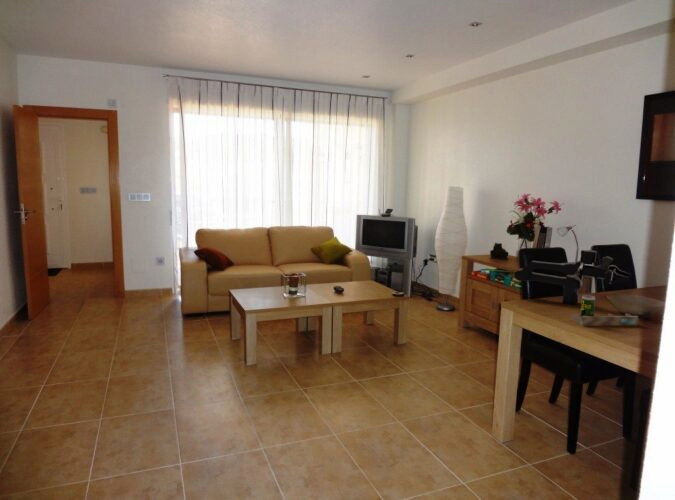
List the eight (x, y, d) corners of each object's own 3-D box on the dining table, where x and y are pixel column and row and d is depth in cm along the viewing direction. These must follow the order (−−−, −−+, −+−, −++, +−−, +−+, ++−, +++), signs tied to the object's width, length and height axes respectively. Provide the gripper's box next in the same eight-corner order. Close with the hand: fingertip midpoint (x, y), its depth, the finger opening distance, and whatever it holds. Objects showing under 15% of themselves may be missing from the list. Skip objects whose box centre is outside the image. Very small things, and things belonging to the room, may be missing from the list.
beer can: (581, 319, 208) (583, 294, 207) (594, 322, 205) (596, 296, 203) (578, 322, 204) (580, 296, 203) (591, 325, 201) (594, 298, 199)
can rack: (581, 325, 200) (582, 316, 200) (571, 319, 209) (572, 311, 208) (637, 325, 200) (638, 316, 199) (625, 319, 209) (626, 310, 208)
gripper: (593, 258, 219) (632, 263, 210) (598, 253, 234) (634, 257, 225) (590, 281, 221) (628, 287, 212) (595, 274, 236) (631, 279, 227)
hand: (630, 277), depth 219 cm, fingers open, 9 cm apart
